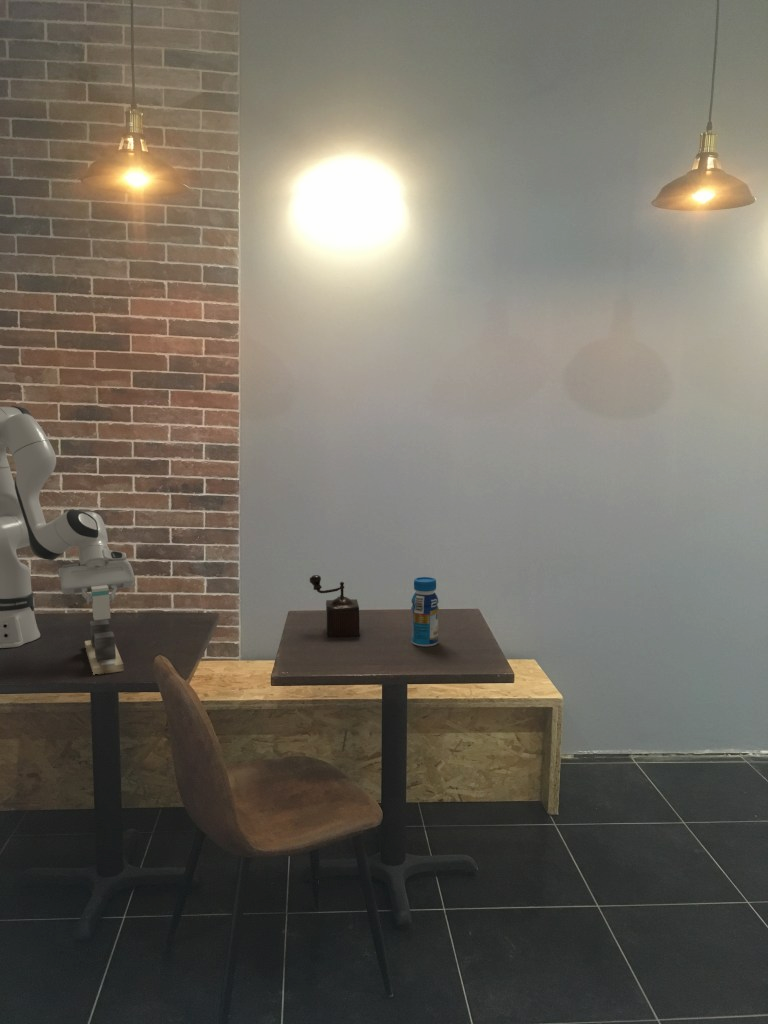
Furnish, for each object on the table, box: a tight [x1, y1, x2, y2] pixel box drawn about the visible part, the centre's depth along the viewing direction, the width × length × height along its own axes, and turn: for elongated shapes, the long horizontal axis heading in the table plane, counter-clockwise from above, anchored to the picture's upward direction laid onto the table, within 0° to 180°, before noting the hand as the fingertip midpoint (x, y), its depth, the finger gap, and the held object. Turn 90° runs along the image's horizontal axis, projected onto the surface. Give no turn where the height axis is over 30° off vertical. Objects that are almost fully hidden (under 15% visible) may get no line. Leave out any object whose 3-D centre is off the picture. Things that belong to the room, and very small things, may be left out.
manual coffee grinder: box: [309, 574, 361, 638], centre depth 262 cm, size 16×11×18 cm
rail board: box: [84, 619, 125, 676], centre depth 238 cm, size 8×26×9 cm, turn 24°
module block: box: [90, 585, 112, 621], centre depth 236 cm, size 4×4×9 cm
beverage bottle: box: [410, 576, 440, 647], centre depth 250 cm, size 8×8×20 cm
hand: (100, 601), depth 235 cm, fingers closed on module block, 4 cm apart
